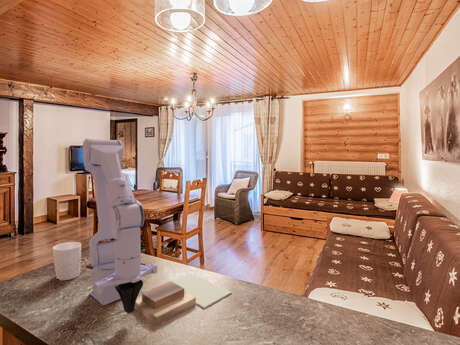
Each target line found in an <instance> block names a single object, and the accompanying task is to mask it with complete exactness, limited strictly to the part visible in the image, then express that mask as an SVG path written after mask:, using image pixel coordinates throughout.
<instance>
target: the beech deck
mask: <svg viewBox="0 0 460 345" xmlns="http://www.w3.org/2000/svg"><path fill="white" fill-rule="evenodd" d="M196 305H197V304H196V297H194V296H192V295H190V294H189V293H187V292H185V291H184V296H182V297H180V298H178V299H176V300H174V301H172V302H170V303H168V304H166V305H164V306H162V307H160V308H157V309H153V308H152V307H150V306H149V305H148V304H146V303H145V302H143V301H142V293H140V294H138V297H137V299H136V303H135V307H134V310H135V311H137V313H140V314H141V315H142V316H144V317H145V318H146V319H148V320H149V321H150V322H151V323H153V324H154V325H155V326H159V325H161V324H162V323H165V322H166V321H168V320H170V319H172V318H173V317H176V316H177V315H179V314H182V313H183V312H185V311H187V310H189V309H190V308H193V307H194V306H196Z"/></svg>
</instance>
